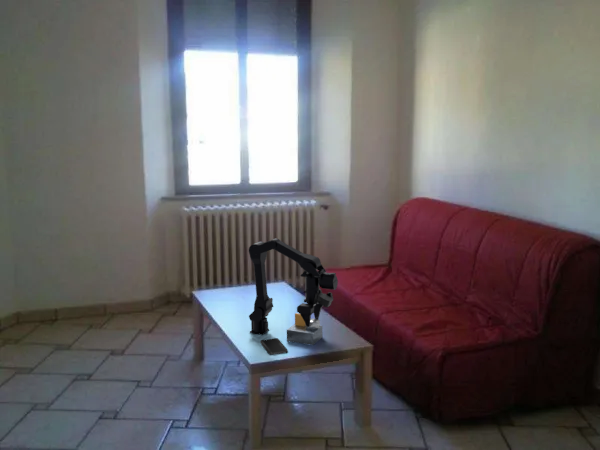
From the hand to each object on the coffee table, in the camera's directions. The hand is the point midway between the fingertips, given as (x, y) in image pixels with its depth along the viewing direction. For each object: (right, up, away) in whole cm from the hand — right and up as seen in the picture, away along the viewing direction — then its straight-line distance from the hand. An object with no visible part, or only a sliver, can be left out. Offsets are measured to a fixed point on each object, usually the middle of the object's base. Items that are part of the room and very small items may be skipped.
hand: (312, 323), depth 247 cm
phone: (-16, -9, -7) cm, 20 cm away
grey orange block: (-5, -2, +3) cm, 6 cm away
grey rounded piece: (0, -6, +1) cm, 6 cm away
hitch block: (-3, -7, +1) cm, 8 cm away
